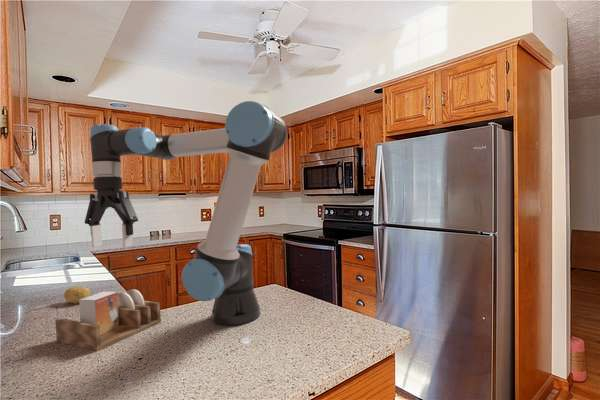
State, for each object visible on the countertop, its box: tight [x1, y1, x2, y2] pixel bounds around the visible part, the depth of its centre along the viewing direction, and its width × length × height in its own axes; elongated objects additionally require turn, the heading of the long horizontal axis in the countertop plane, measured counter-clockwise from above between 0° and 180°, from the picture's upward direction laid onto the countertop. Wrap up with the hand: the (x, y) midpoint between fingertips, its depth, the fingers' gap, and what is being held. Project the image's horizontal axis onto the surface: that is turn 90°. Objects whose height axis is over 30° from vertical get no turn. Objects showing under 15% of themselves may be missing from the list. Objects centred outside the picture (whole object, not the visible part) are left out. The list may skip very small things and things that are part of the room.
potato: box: [63, 286, 91, 304], centre depth 127 cm, size 7×11×6 cm, turn 64°
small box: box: [78, 291, 119, 336], centre depth 93 cm, size 8×6×10 cm
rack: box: [55, 288, 162, 352], centre depth 96 cm, size 18×20×10 cm
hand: (112, 246), depth 99 cm, fingers open, 13 cm apart
